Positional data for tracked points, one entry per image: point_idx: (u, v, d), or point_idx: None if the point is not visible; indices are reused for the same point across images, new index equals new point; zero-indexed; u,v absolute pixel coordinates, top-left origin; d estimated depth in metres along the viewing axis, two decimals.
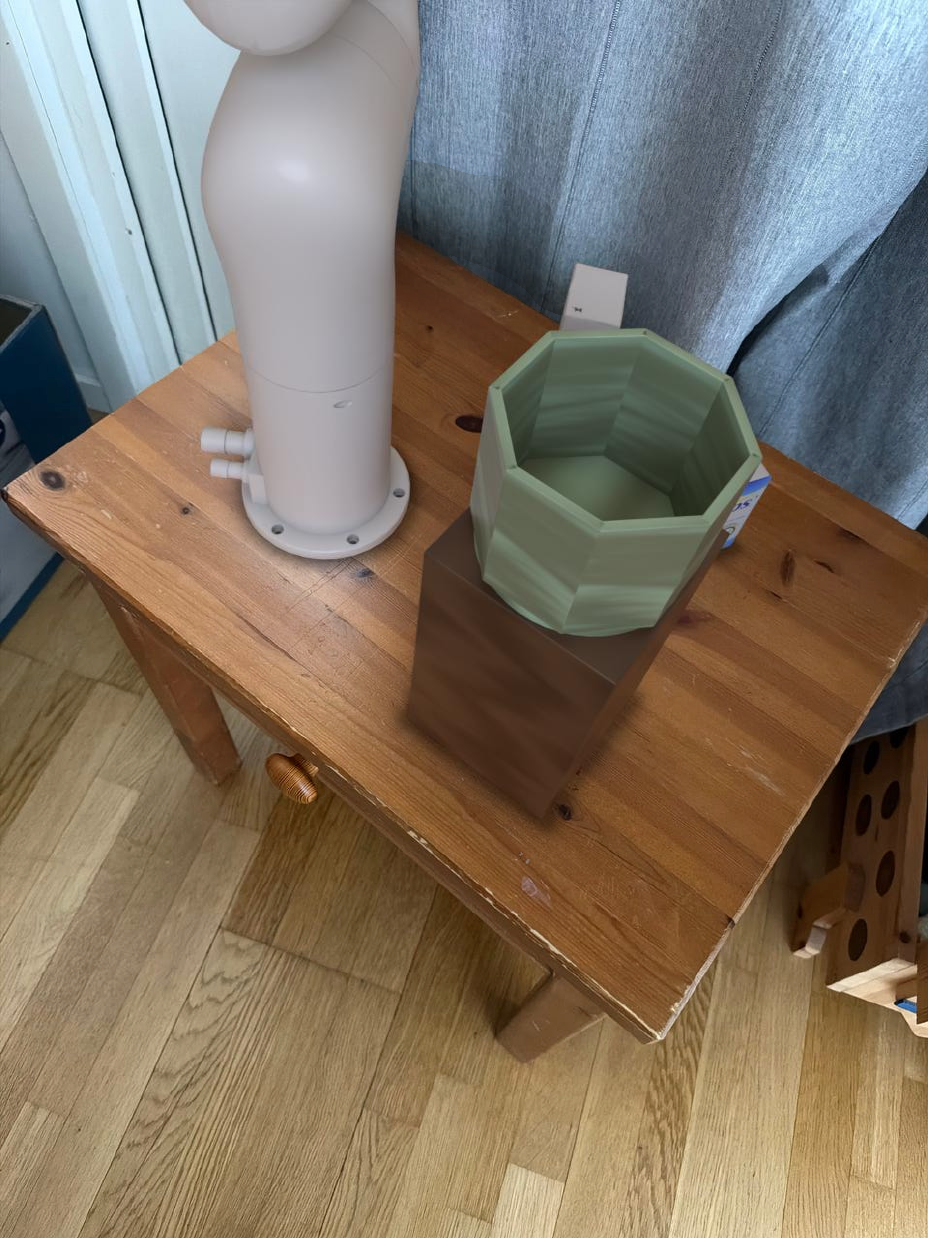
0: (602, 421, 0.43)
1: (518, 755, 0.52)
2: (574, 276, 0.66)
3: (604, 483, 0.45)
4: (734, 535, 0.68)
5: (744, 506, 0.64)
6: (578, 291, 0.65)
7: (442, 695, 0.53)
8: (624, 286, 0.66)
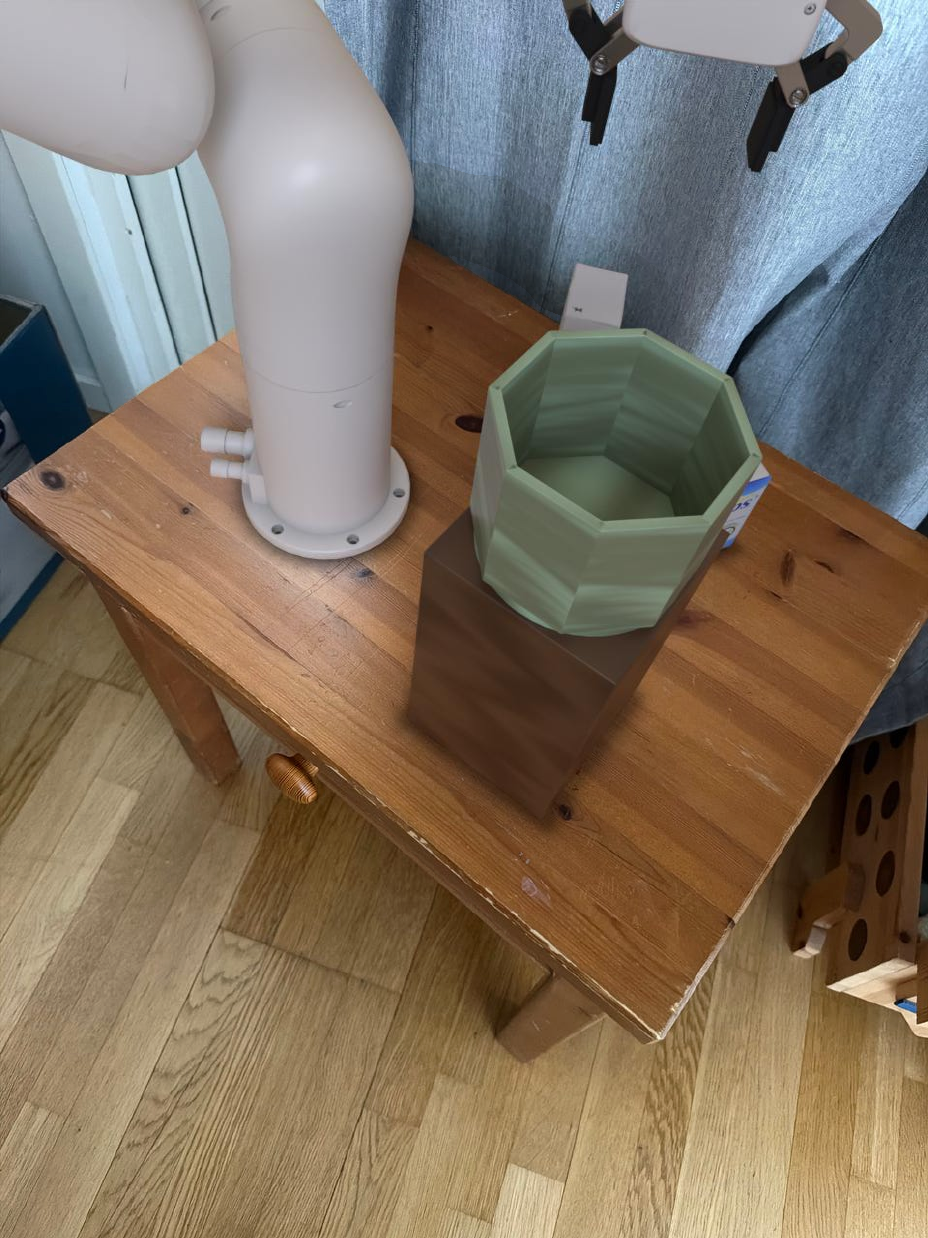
0: (602, 421, 0.43)
1: (518, 755, 0.52)
2: (574, 276, 0.66)
3: (604, 483, 0.45)
4: (734, 535, 0.68)
5: (744, 506, 0.64)
6: (579, 291, 0.65)
7: (442, 695, 0.53)
8: (624, 286, 0.66)
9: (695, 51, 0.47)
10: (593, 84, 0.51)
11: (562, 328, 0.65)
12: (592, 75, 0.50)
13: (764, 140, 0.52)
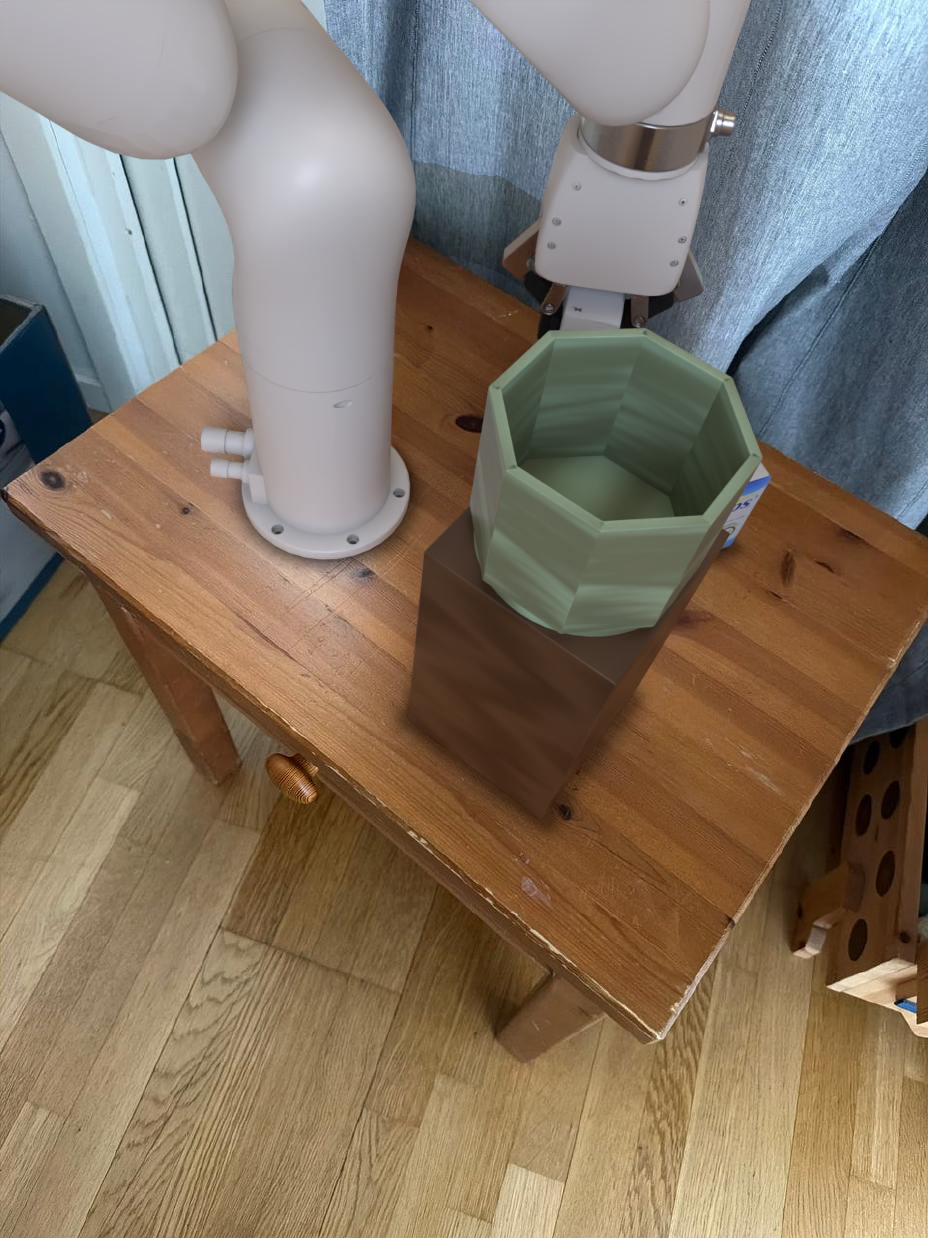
0: (602, 421, 0.43)
1: (518, 755, 0.52)
2: None
3: (604, 483, 0.45)
4: (734, 535, 0.68)
5: (744, 506, 0.64)
6: (578, 291, 0.65)
7: (442, 695, 0.53)
8: None
9: (591, 286, 0.62)
10: (544, 318, 0.66)
11: (562, 328, 0.65)
12: (543, 313, 0.66)
13: None
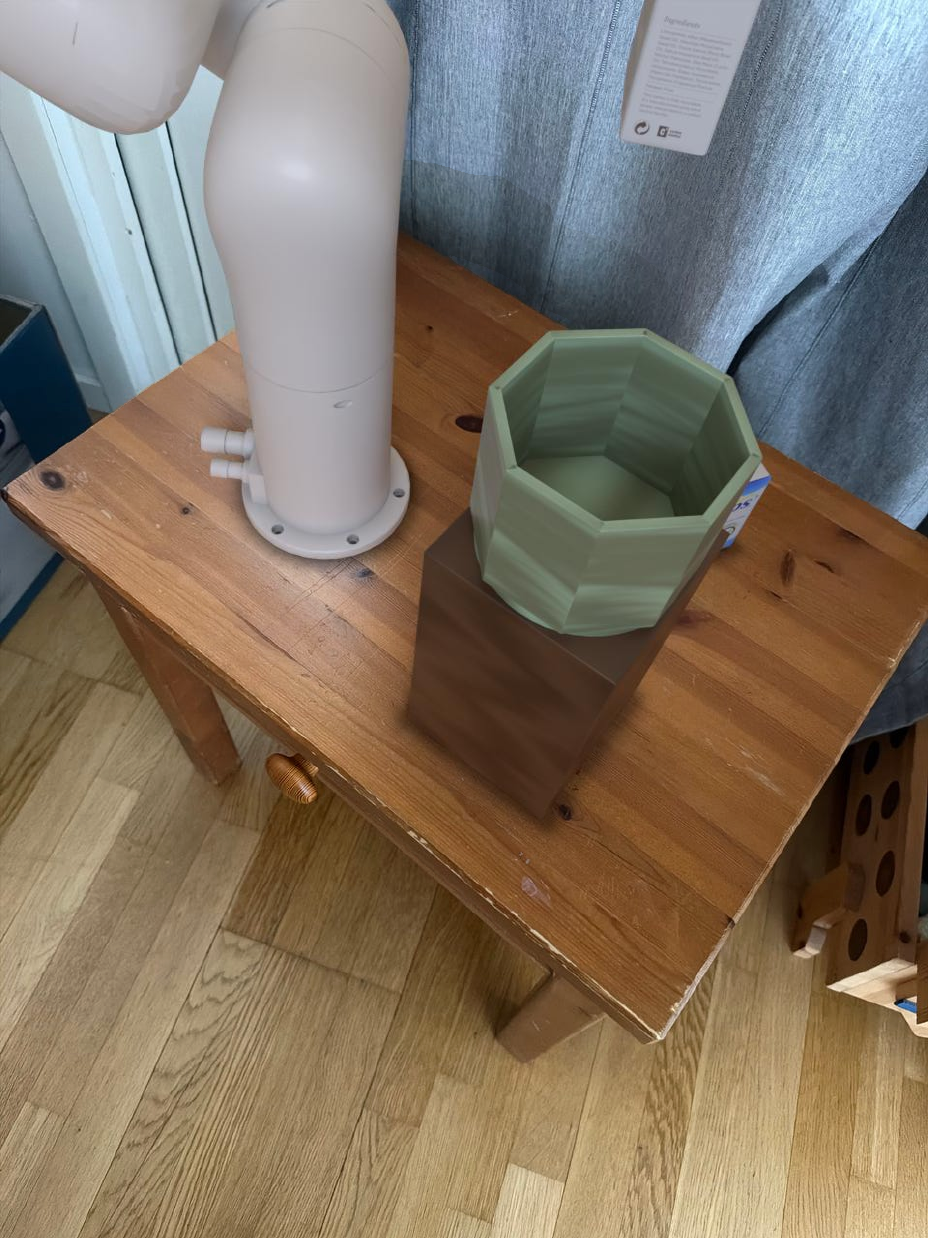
0: (602, 421, 0.43)
1: (518, 755, 0.52)
2: None
3: (604, 483, 0.45)
4: (734, 535, 0.68)
5: (744, 506, 0.64)
6: None
7: (442, 695, 0.53)
8: None
9: None
10: None
11: None
12: None
13: None
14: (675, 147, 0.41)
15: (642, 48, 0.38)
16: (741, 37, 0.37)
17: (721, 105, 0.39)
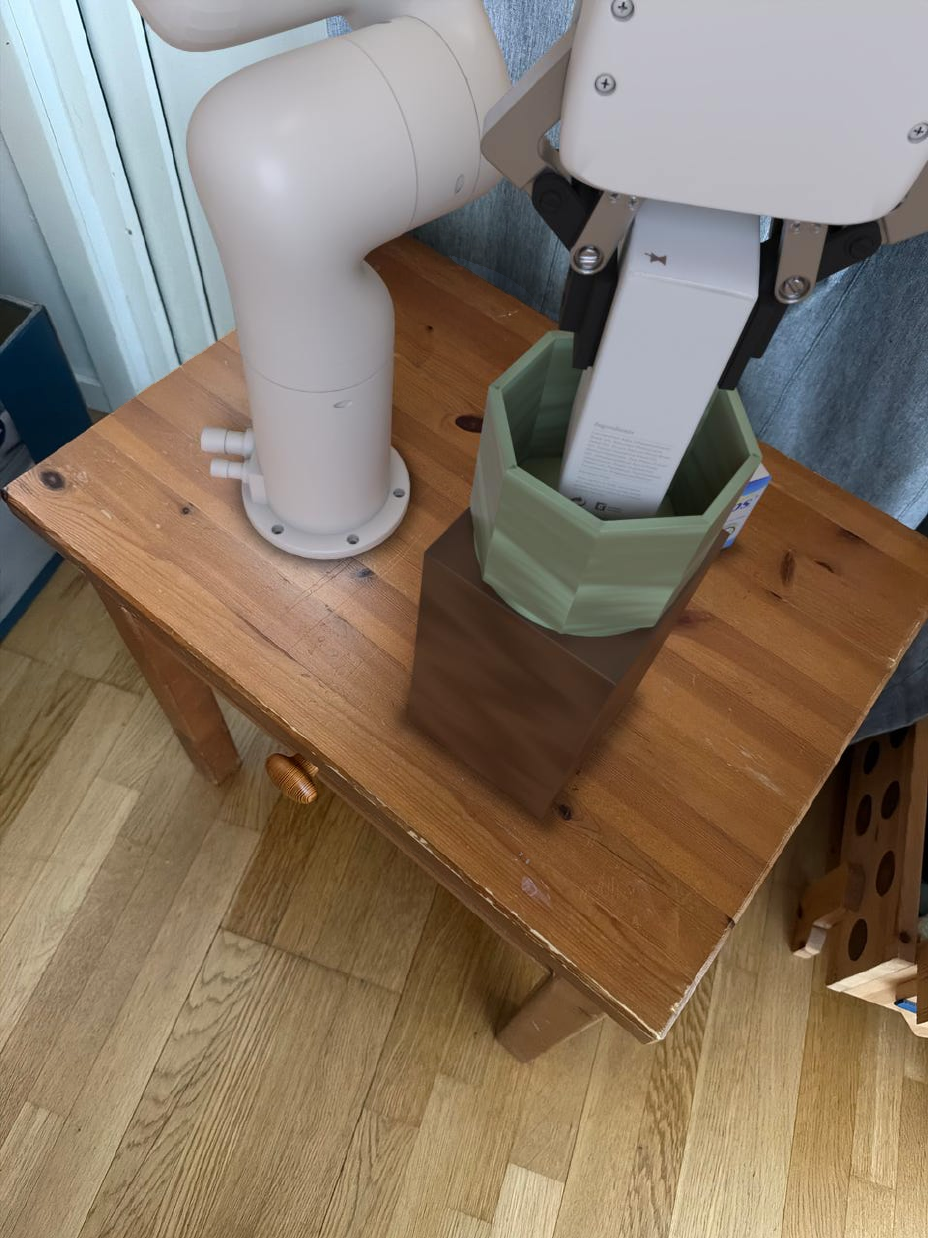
0: None
1: (518, 755, 0.52)
2: None
3: None
4: (734, 535, 0.68)
5: (744, 506, 0.64)
6: (656, 218, 0.28)
7: (442, 695, 0.53)
8: None
9: (696, 202, 0.26)
10: (577, 283, 0.30)
11: (619, 303, 0.28)
12: (575, 271, 0.29)
13: (738, 349, 0.31)
14: (615, 519, 0.37)
15: (573, 442, 0.34)
16: (680, 445, 0.33)
17: (663, 493, 0.35)
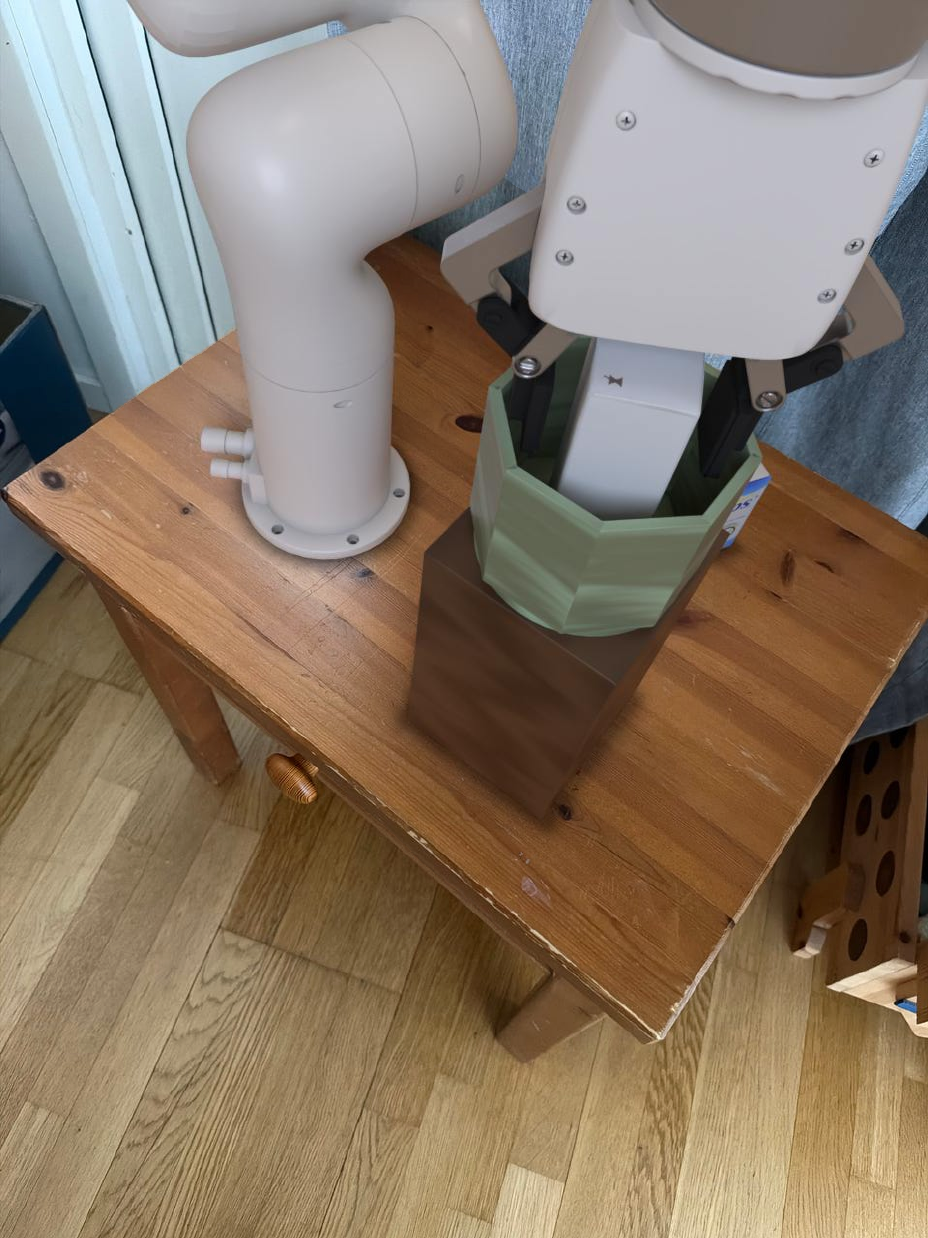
0: None
1: (518, 755, 0.52)
2: None
3: None
4: (734, 535, 0.68)
5: (744, 506, 0.64)
6: (615, 342, 0.33)
7: (442, 695, 0.53)
8: None
9: (645, 341, 0.30)
10: (520, 383, 0.34)
11: (583, 416, 0.33)
12: None
13: (721, 447, 0.35)
14: None
15: None
16: None
17: None
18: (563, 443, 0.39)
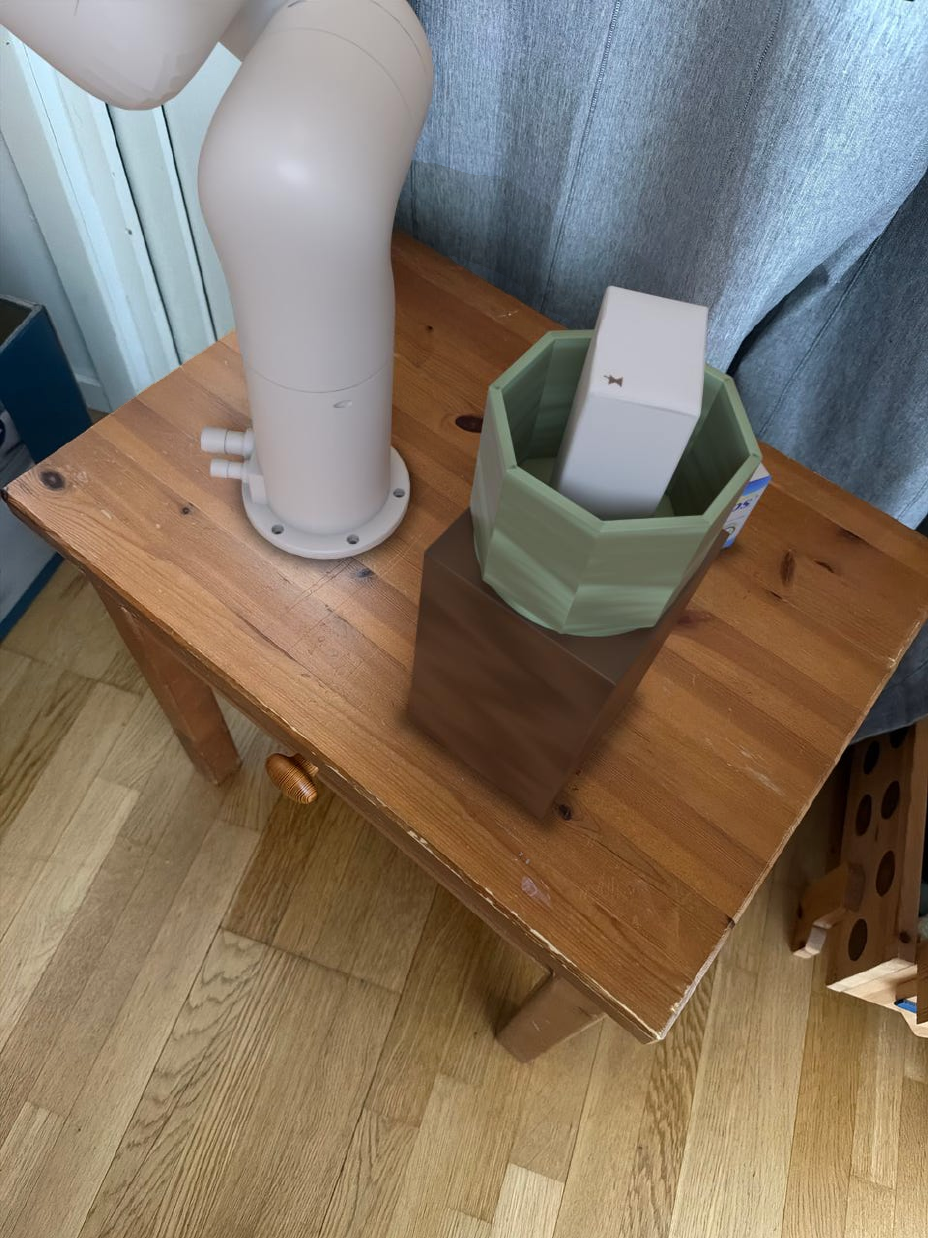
0: None
1: (518, 755, 0.52)
2: (605, 312, 0.34)
3: None
4: (734, 535, 0.68)
5: (744, 506, 0.64)
6: (615, 342, 0.33)
7: (442, 695, 0.53)
8: (703, 330, 0.34)
9: None
10: None
11: (583, 416, 0.33)
12: None
13: None
14: None
15: None
16: None
17: None
18: (563, 443, 0.39)
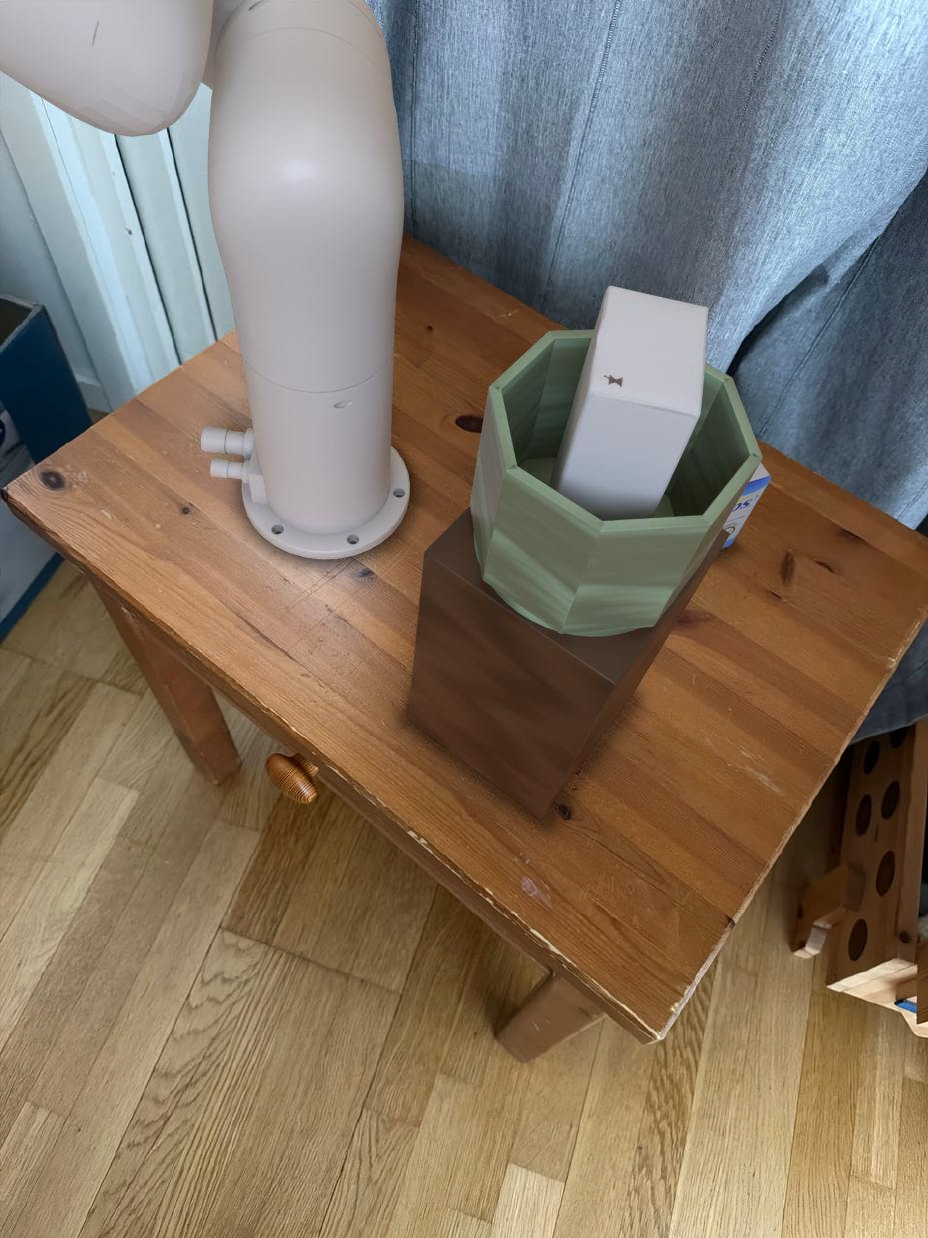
0: None
1: (518, 755, 0.52)
2: (605, 312, 0.34)
3: None
4: (734, 535, 0.68)
5: (744, 506, 0.64)
6: (615, 342, 0.33)
7: (442, 695, 0.53)
8: (703, 330, 0.34)
9: None
10: None
11: (583, 416, 0.33)
12: None
13: None
14: None
15: None
16: None
17: None
18: (563, 443, 0.39)
